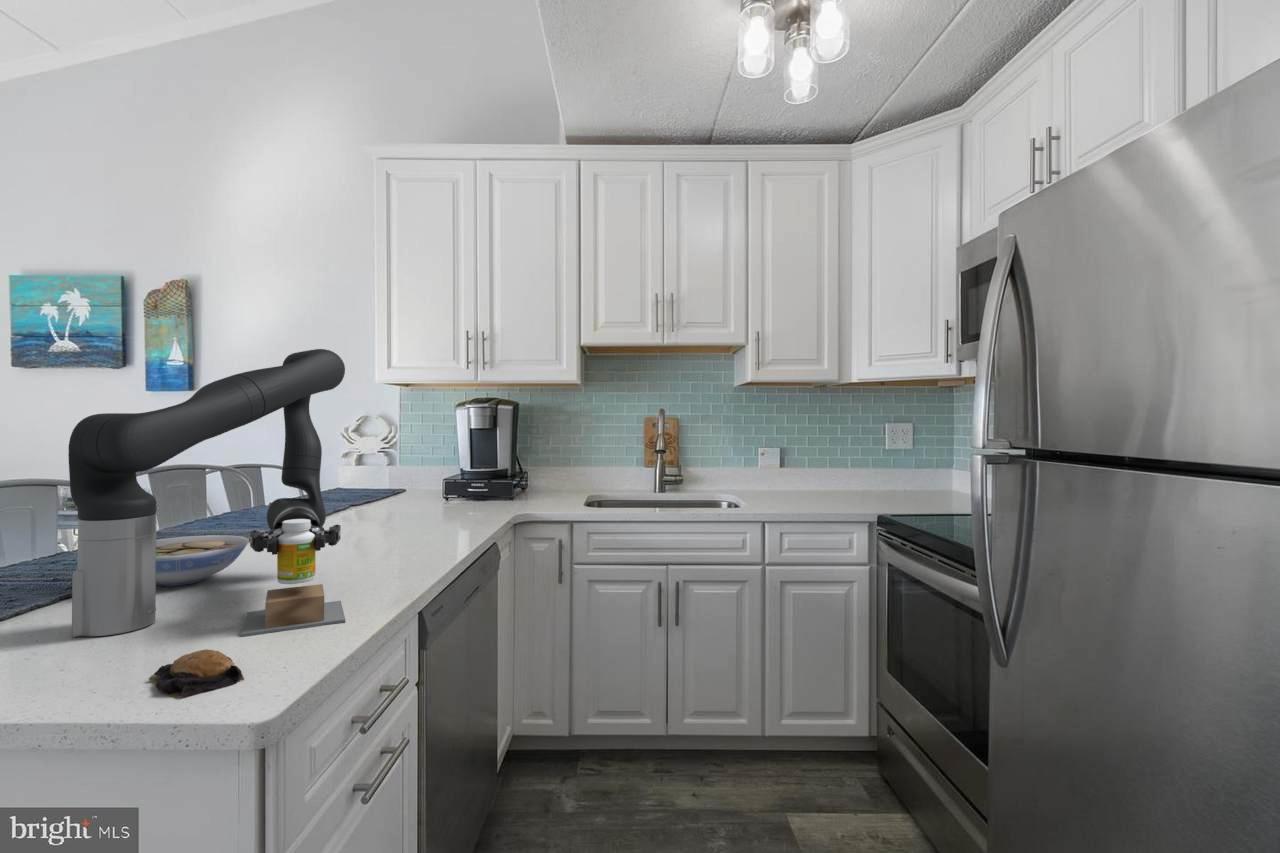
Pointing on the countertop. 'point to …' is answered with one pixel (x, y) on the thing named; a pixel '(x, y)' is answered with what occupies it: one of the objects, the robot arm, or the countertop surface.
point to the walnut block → (294, 606)
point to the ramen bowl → (195, 557)
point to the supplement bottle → (296, 552)
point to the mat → (257, 625)
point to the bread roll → (196, 674)
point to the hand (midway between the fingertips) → (296, 546)
